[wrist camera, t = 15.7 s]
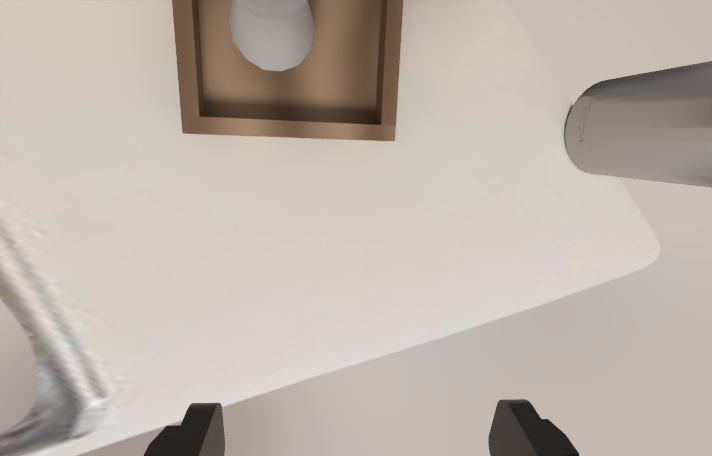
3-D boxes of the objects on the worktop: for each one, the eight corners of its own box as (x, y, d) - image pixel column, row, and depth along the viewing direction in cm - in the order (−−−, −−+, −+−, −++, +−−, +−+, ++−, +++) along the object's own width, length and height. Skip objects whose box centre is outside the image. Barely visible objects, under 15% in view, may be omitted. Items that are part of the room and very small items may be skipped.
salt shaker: (324, 24, 27) (361, -70, 15) (290, 91, 28) (299, 53, 16) (254, -25, 26) (231, -175, 13) (220, 48, 26) (167, -32, 14)
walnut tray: (395, -69, 28) (408, -92, 25) (384, 140, 32) (394, 140, 29) (175, -105, 25) (161, -137, 22) (192, 133, 28) (182, 133, 25)
